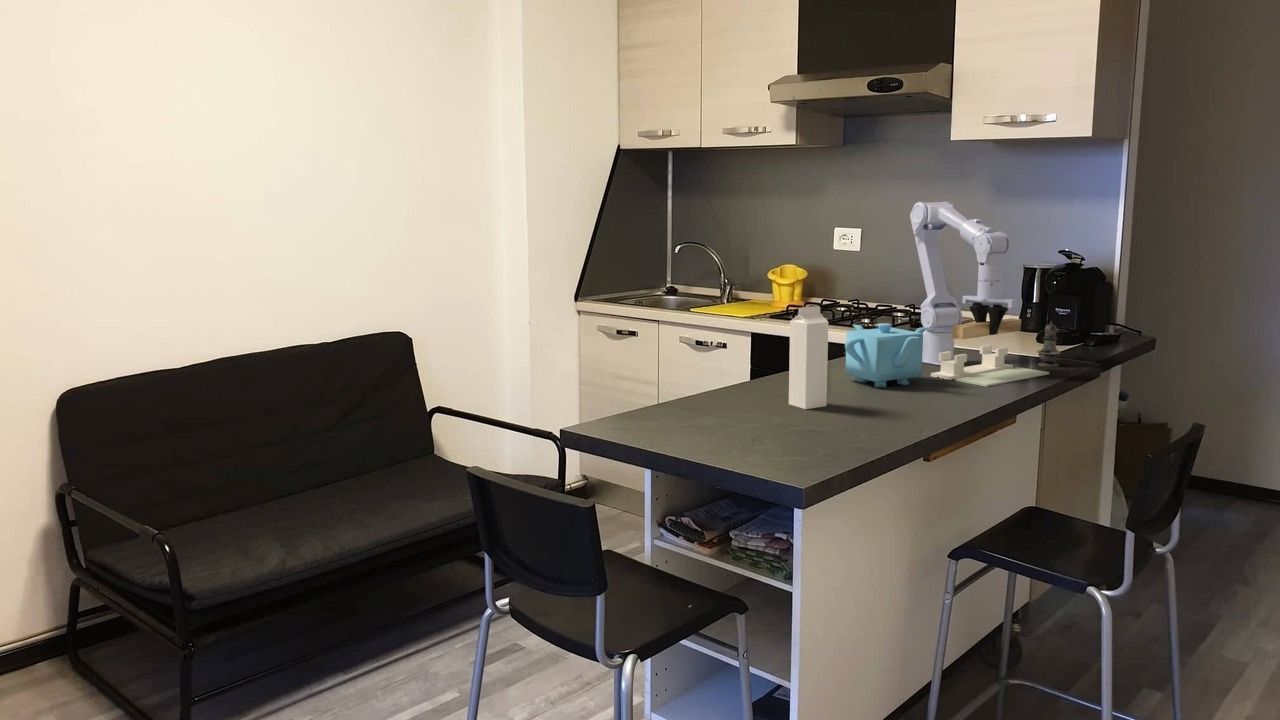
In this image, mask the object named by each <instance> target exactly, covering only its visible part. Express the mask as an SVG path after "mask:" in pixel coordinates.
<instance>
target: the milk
mask: <svg viewBox="0 0 1280 720" xmlns="http://www.w3.org/2000/svg"><path fill="white" fill-rule="evenodd" d="M828 351H829V321H828V320H827V319H826V318H825V316H823V314H822V313H821V307H820V305H819V306H810V307H809V306H807V307H799V308H798V314H797V316H795V317H794V318H792V319H791V320H789V361H788V362H789V368H788V369H789V371H788V372H789V373H788V374H789V375H788V382H789V383H788V405H789V406H793V407H796V408H800V409H802V410H810V409H816V408H823V407H827V399H828V398H827V397H828V396H827V394H828V393H827V392H828V356H829V355H828Z"/></svg>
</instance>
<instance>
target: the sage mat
mask: <svg viewBox="0 0 1280 720" xmlns="http://www.w3.org/2000/svg"><path fill="white" fill-rule="evenodd" d="M1046 375H1050V371H1045V370H1038V369H1031V368H1026V367H1025V368H1024V367H1020V366H1019V367H1013V368H1011V369H1005V370H1000V371H995V372H989V373H984V374H979V375H973V376H968V377H963V378H957V379H954V380H955V382H960V383H966V384H970V385H976V386H982V387H991V386H996V385H997V386H998V385H1001V384H1006V383H1012V382H1017V381H1020V380H1021V381H1023V380H1026V379H1027V380H1028V379H1031V378H1036V377H1042V376H1046Z"/></svg>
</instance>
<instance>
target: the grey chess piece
mask: <svg viewBox="0 0 1280 720" xmlns="http://www.w3.org/2000/svg"><path fill="white" fill-rule="evenodd" d="M1042 339H1043V346H1042V349H1040V350H1037V353H1038V358H1039V359H1040V360H1041V361H1040V362H1039V363H1037V365H1038V366H1040V367H1047V368H1057V367H1059V366H1060V364H1058V363H1057V362H1056V361H1058V360H1059V358H1060V355H1061V354H1062V352H1061V351H1060V350H1058V349H1057V340H1058V337H1057V326H1056V325H1055V324H1053V321H1052V320H1051V321H1050V322H1049V323H1048V324H1046V325H1045V327H1044V336H1043V337H1042Z"/></svg>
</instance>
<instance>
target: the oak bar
mask: <svg viewBox="0 0 1280 720" xmlns="http://www.w3.org/2000/svg"><path fill="white" fill-rule="evenodd" d="M989 328H990V320H989V321H987V320H986V322H979V323H976V322H973V323H965V324H960V325H957V326H953V330H952V338H954V339H956V340H957V339H958V340H968V339H975V338H980V337H987V336H988V337H989V336H991V335H990V331H989ZM1021 328H1022V319H1021V318H1012V317H1009V318H1003V319H1002V321H1001V323H1000V326H999V329H998V332H997V334H996V335H1000V334H1009V333H1015V332H1021V331H1022V330H1021Z"/></svg>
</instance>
